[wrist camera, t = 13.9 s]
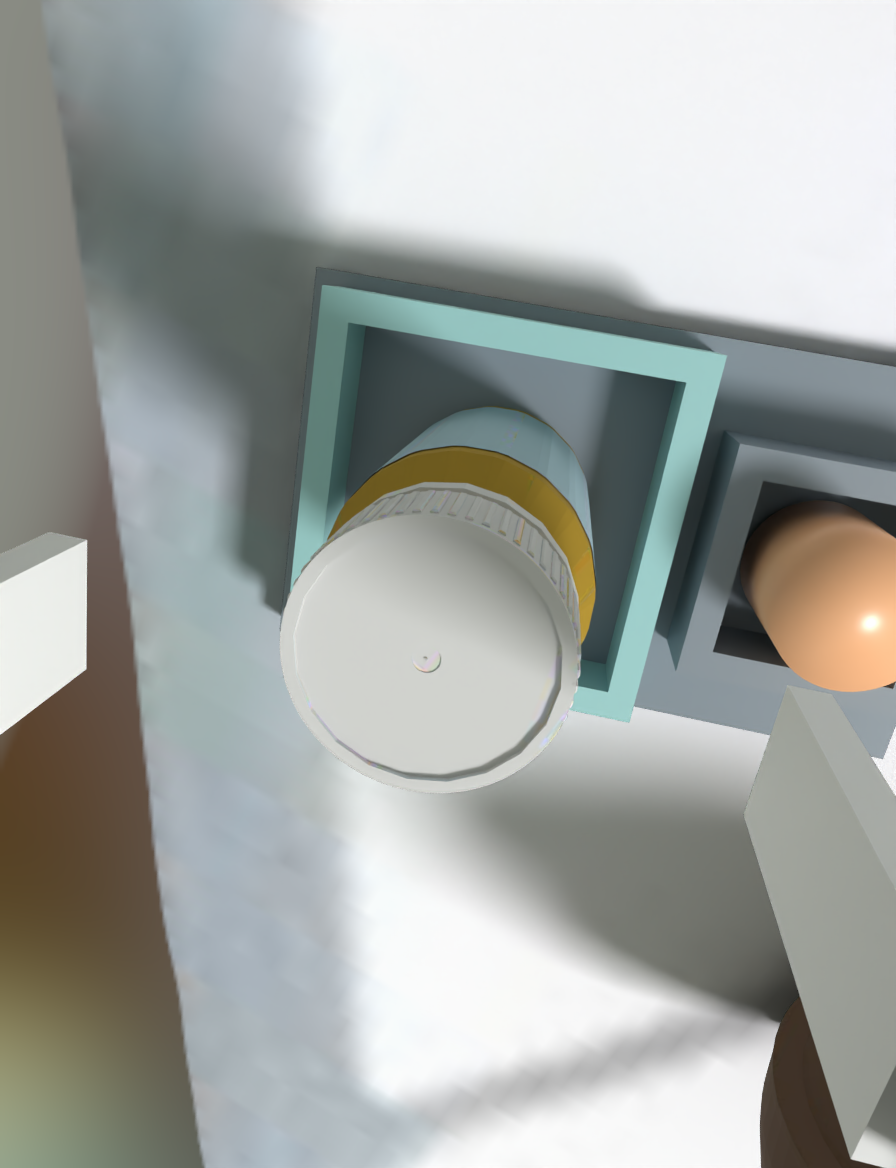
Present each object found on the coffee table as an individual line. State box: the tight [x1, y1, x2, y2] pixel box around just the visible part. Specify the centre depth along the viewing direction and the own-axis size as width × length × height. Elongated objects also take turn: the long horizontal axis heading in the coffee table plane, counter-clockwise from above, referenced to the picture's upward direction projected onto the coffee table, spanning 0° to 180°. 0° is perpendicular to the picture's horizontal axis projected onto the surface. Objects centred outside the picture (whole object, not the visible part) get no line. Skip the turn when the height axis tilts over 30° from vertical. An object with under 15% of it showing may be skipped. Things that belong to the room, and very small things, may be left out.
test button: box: [740, 500, 896, 692], centre depth 27 cm, size 5×5×5 cm
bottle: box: [280, 406, 596, 793], centre depth 24 cm, size 7×7×15 cm
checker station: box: [280, 267, 896, 759], centre depth 30 cm, size 14×24×4 cm, turn 81°
